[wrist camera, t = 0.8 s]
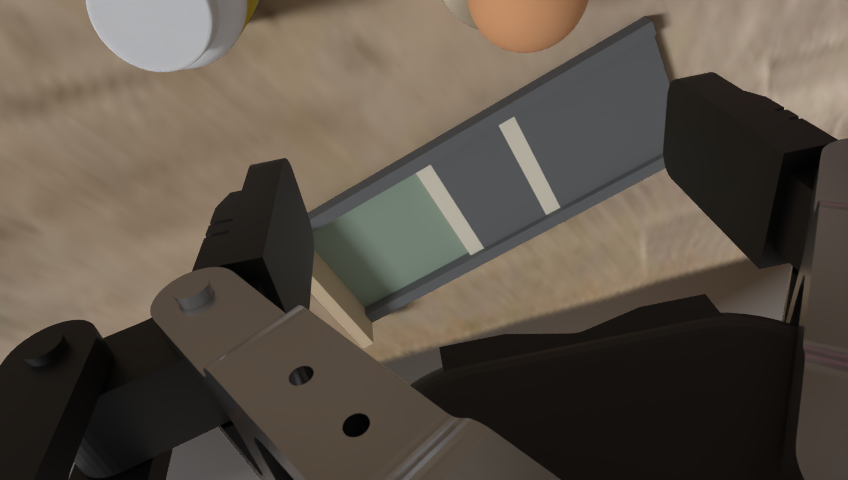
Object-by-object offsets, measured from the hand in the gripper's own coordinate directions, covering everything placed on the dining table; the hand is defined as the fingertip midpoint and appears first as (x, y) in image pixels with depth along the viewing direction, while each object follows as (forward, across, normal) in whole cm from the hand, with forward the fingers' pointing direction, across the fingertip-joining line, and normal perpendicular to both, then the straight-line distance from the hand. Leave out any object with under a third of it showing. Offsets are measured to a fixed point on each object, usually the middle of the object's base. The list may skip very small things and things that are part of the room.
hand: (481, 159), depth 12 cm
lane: (+20, -3, +12) cm, 24 cm away
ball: (+14, -5, 0) cm, 15 cm away
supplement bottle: (+20, +9, -2) cm, 22 cm away
